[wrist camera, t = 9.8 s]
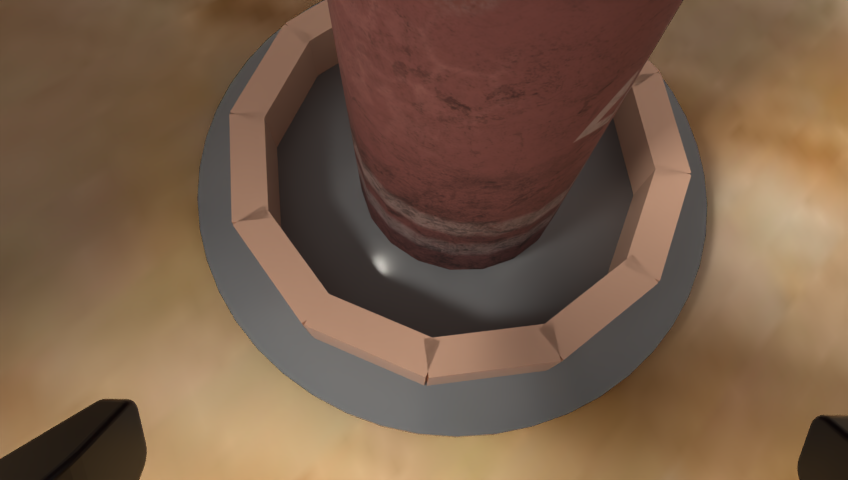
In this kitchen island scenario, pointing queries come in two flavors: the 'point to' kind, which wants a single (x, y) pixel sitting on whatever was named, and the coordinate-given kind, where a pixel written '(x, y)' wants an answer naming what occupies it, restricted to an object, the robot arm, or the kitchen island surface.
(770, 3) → the kitchen island surface
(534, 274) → the ring tray
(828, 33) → the kitchen island surface
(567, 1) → the can
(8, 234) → the kitchen island surface
